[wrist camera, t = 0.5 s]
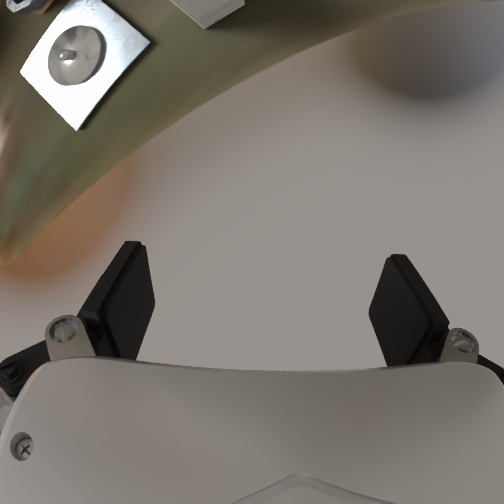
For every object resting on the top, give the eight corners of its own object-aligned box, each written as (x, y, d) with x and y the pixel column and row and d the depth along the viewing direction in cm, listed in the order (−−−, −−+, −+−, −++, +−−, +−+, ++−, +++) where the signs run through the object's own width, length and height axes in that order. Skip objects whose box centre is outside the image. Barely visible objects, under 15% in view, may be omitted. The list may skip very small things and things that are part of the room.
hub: (85, -13, 23) (69, -19, 20) (152, 43, 30) (140, 39, 26) (23, 71, 29) (5, 74, 25) (80, 129, 35) (63, 136, 31)
